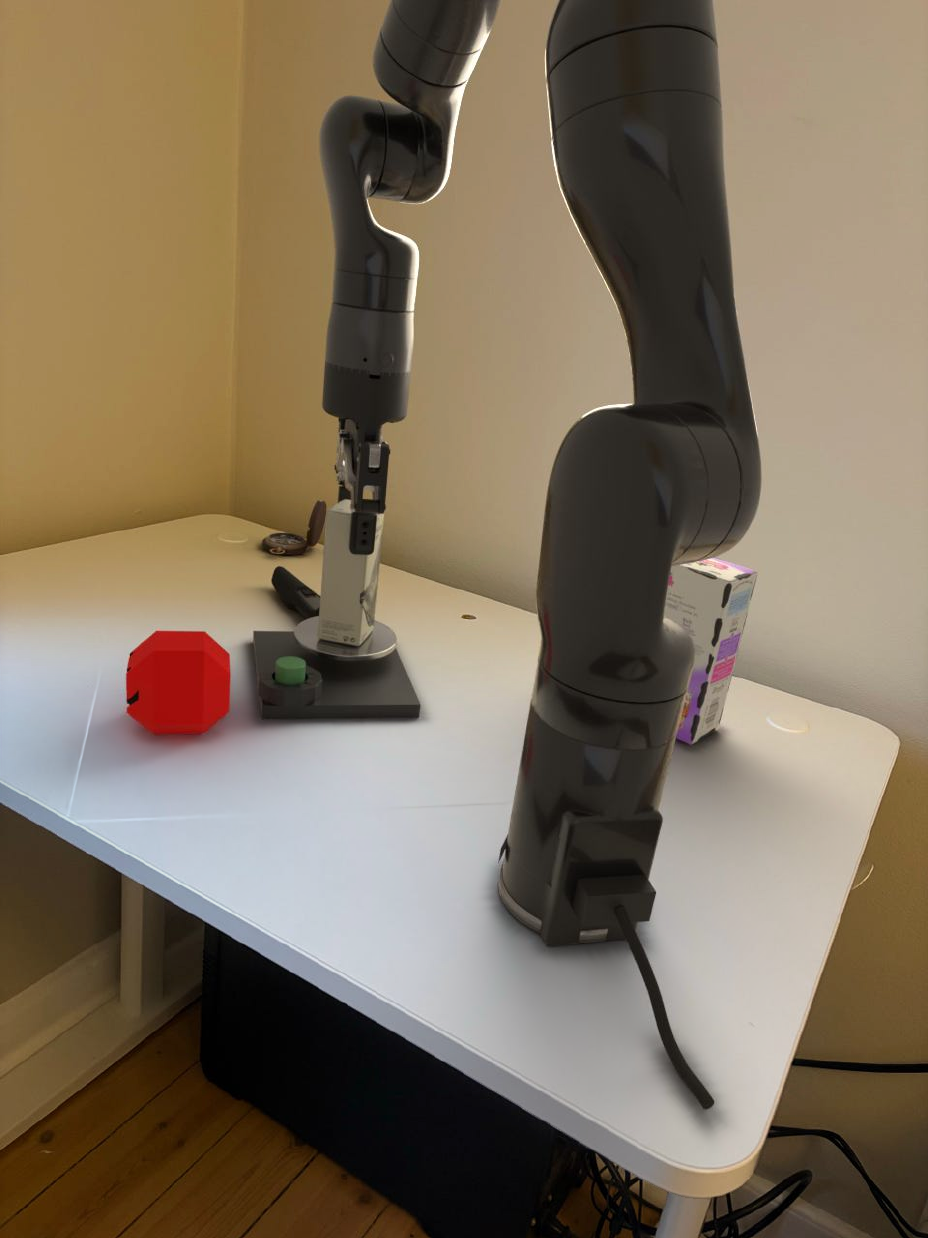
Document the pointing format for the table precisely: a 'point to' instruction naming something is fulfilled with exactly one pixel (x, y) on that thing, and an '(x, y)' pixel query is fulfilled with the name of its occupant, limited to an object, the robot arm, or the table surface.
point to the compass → (294, 542)
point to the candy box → (709, 635)
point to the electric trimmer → (295, 593)
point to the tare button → (290, 670)
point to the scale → (331, 684)
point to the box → (347, 581)
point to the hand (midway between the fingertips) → (354, 538)
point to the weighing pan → (369, 649)
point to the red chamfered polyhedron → (178, 682)
